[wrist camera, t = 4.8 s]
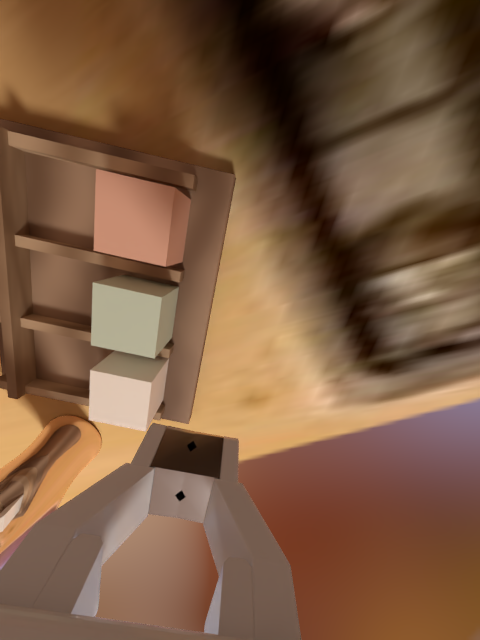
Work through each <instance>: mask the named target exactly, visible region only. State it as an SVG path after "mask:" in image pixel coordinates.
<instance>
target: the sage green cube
mask: <svg viewBox="0 0 480 640" xmlns="http://www.w3.org/2000/svg"><path fill="white" fill-rule="evenodd" d="M178 291H179V287H177V286H172V285H168V284H163V283H159V282H154V281H150V280H145V279H141V278H136V277H132V276H127V275H120V276H116V277H112V278H108V279H104V280H100V281H96V282H93V289H92V324H91V345H92V346H97V347H102V348H106V349H111V350H116V351H121V352H125V353H130V354H135V355H140V356H144V357H149V358H154V359H155V358H156V356H157V355H158V354H159V353H160V351H161V350H162V349H163V348H164V347H165V345H166V344H167V343H168V342H169V340H170V339H171V338H172V333H173V326H174V319H175V312H176V305H177V298H178Z"/></svg>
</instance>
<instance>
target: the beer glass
mask: <svg viewBox="0 0 480 640" xmlns="http://www.w3.org/2000/svg"><path fill="white" fill-rule="evenodd" d="M101 446H102V441H101V437H100V434H99V432H98V431H97V429H96V428H95V427H94V426H93V425H92V424H91V423H89V422H88V421H86V420H84V419H82V418H80V417H76V416H69V415H65V416H59V417H57V418H55V419H53V420H51V421H50V422H49V423H48V424H47V425H46V426H45V428H44V429H43V430H42V431H41V433H40V434H39V435H38V437H37V438H36V439H35V440H34V441H33V443H32V444H31V445H30V446H29V447H28V448H27V449H26V450H24V451H23V452H22V453H21V454H20V455H19V456H17V457H16V458H15V459H13V460H12V461H11V462H9V463H8V464H6V465H5V466H4V467H2V468H1V469H0V570H1V569H2V568H3V566H4V565H5V564H6V562H7V561H8V560H9V558H10V557H11V556H12V554H13V553H14V552H15V550H16V549H17V548H18V546H19V545H20V544H21V542H22V541H23V540H24V538H25V537H26V536H27V534H28V533H29V532H30V530H31V529H32V528H33V526H34V525H35V524H36V523H37V522H39V521H40V520H42V519H43V518H45V517H46V516H48V515H49V514H51V513H52V512H54V511H55V510H57V508H58V506H59V504H60V502H61V500H62V498H63V497H64V495H65V493H66V491H67V490H68V488H69V486H70V485H71V483H72V482H73V480H74V479H75V478H76V477H77V475H78V474H79V473H80V472H81V471H82V470H83V469H84V468H85V467H86V466H87V465H88V464H89V463H90V462H91V461H92V460H93V459H94V458H95V457H96V456H97V454H98V453H99V451H100V449H101Z"/></svg>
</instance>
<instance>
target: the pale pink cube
mask: <svg viewBox="0 0 480 640" xmlns="http://www.w3.org/2000/svg"><path fill="white" fill-rule="evenodd" d="M168 362H169V358H165V357H161V356H156V358H155V359H154V358H149V357H144V356H140V355H135V354H130V353H125V352H121V351H116V350H115V351H114V352H112V353H111V354H110V355H108V356H107V357H106V358H105V359H103V360H102V361H101V362H100V363H98V364H97V365H96V366H95V367H93V368H92V369H91V370H90V394H89V420H91V421H96V422H101V423H106V424H111V425H116V426H121V427H126V428H131V429H136V430H141V431H146V430H147V428H148V427H149V425H150V423H151V421H152V419H153V417H154V416H155V414H156V412H157V410H158V408H159V406H160V405H161V403H162V401H163V397H164V390H165V383H166V376H167V369H168Z"/></svg>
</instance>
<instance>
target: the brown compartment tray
mask: <svg viewBox="0 0 480 640" xmlns="http://www.w3.org/2000/svg"><path fill="white" fill-rule="evenodd" d="M96 169H99V170H103V171H107V172H111V173H116V174H120V175H124V176H128V177H133V178H137V179H141V180H145V181H150V182H154V183H158V184H162V185H167V186H171V187H175V188H176V189H178V190H179V191H180V192H182V193H183V194H184V195H185V196H187V197H188V198H189V199H191V205H190V212H189V220H188V227H187V234H186V241H185V248H184V255H183V262H181V263H178V264H174V265H170V266H166V267H165V266H160V265H156V264H151V263H147V262H142V261H138V260H133V259H129V258H124V257H120V256H115V255H111V254H107V253H102V252H98V251H94V218H95V183H96ZM235 180H236V178H235V175H234V174H230V173H226V172H222V171H217V170H213V169H209V168H205V167H201V166H196V165H192V164H188V163H184V162H180V161H176V160H171V159H167V158H163V157H159V156H155V155H150V154H146V153H142V152H138V151H134V150H130V149H125V148H121V147H117V146H113V145H109V144H104V143H100V142H96V141H92V140H88V139H84V138H79V137H75V136H71V135H67V134H63V133H58V132H54V131H50V130H46V129H42V128H38V127H33V126H29V125H25V124H21V123H17V122H12V121H8V120H4V119H0V356H1V366H2V376H0V388H2V389H7V390H8V397H9V398H14V399H18V398H20V397H21V396H23V395H24V394H26V393H27V394H32V395H37V396H42V397H47V398H52V399H57V400H61V401H66V402H71V403H76V404H81V405H86V406H89V394H90V370H91V369H92V368H93V367H95V366H96V365H97V364H98V363H100V362H101V361H102V360H103V359H105V358H106V357H107V356H108V355H110V354H111V353H112V352H114V351H115V350H111V349H106V348H102V347H97V346H92V345H91V324H92V289H93V282H96V281H100V280H104V279H108V278H112V277H116V276H120V275H127V276H132V277H136V278H141V279H145V280H150V281H154V282H159V283H163V284H168V285H172V286H177V287H179V291H178V298H177V305H176V312H175V319H174V326H173V333H172V338H171V339H170V340H169V342H168V343H167V344H166V345H165V347H164V348H163V349H162V350H161V351H160V353H159V354H158V355H157V356H161V357H165V358H169V362H168V369H167V376H166V383H165V390H164V397H163V401H162V403H161V405H160V406H159V408H158V410H157V412H156V414H155V416H154V417H153V419H155V420H160V419H161V418H162V419H167V420H171V421H176V422H181V423H186V424H189V421H190V418H191V414H192V409H193V403H194V398H195V393H196V388H197V382H198V377H199V372H200V366H201V361H202V356H203V350H204V345H205V340H206V334H207V329H208V324H209V318H210V313H211V308H212V302H213V297H214V292H215V286H216V281H217V276H218V271H219V265H220V260H221V255H222V249H223V244H224V239H225V233H226V228H227V223H228V217H229V212H230V207H231V201H232V196H233V191H234V185H235Z"/></svg>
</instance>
